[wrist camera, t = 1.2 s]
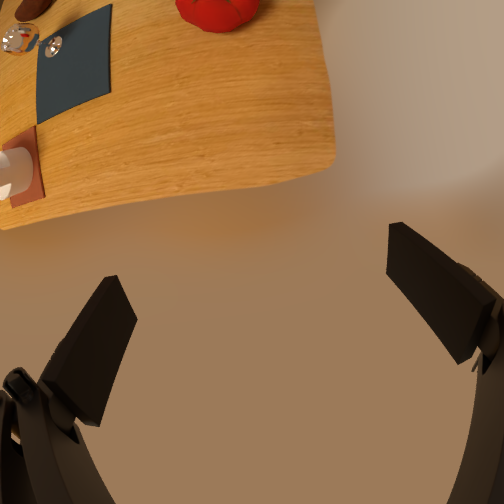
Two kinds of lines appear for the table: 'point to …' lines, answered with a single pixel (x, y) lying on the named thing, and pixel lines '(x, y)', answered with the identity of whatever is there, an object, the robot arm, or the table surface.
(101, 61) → the mat
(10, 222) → the table surface
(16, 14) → the potato
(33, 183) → the mat
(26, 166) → the base with upright slab
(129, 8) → the table surface
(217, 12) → the tomato
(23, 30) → the wineglass
